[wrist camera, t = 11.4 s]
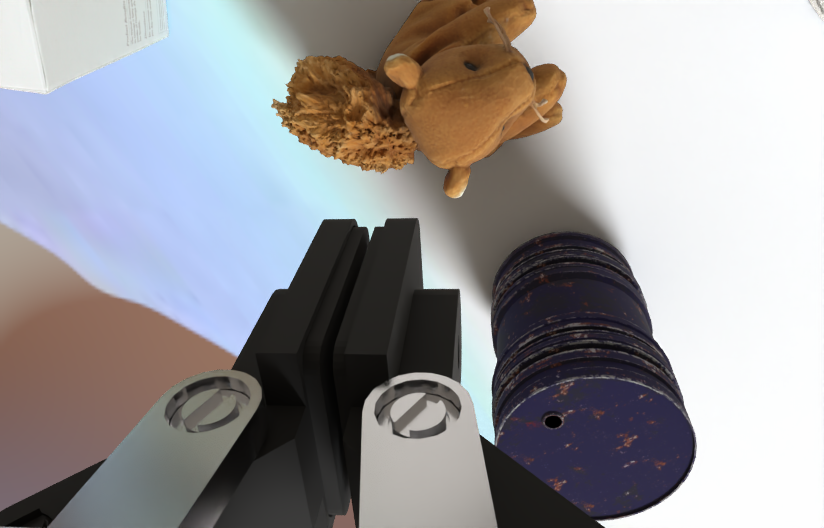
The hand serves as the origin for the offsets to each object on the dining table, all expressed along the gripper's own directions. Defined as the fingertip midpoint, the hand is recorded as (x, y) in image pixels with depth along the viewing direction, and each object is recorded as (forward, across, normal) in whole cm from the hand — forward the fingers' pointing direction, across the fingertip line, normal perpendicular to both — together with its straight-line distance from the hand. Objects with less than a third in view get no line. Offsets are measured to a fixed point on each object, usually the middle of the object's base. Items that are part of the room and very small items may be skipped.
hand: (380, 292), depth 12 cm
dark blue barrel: (+29, -7, +18) cm, 35 cm away
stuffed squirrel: (+29, +1, +3) cm, 30 cm away
